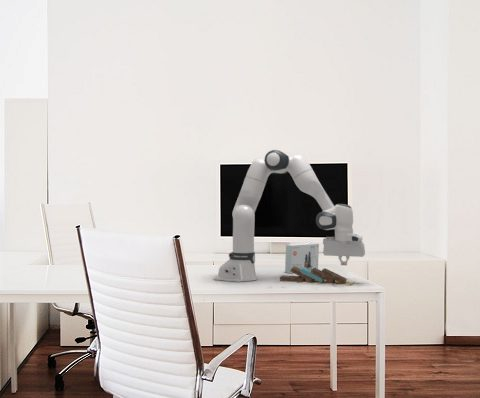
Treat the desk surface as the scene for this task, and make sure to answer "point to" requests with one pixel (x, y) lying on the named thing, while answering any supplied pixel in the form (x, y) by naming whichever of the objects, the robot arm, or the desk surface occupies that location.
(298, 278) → the dark wood plank
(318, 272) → the tile
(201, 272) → the desk surface
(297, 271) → the tile
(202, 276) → the desk surface
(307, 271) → the tile
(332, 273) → the tile
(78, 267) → the desk surface
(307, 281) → the oak board
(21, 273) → the desk surface
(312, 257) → the skincare box
